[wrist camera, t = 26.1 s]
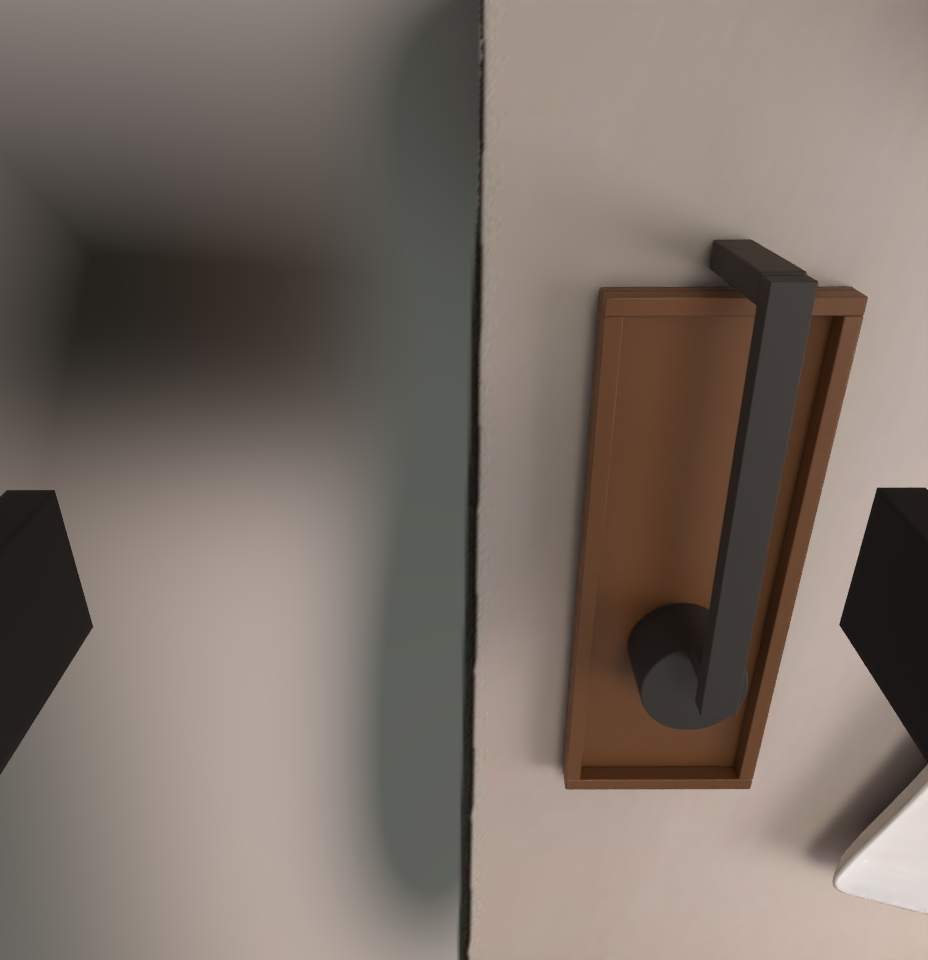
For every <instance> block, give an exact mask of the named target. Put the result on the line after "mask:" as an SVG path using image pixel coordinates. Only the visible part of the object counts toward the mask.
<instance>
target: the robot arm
mask: <svg viewBox="0 0 928 960" xmlns="http://www.w3.org/2000/svg"><path fill="white" fill-rule="evenodd" d="M839 625H840V626H841V628H842V630H843V631H844V633H845V634H846V636H847V637H848V639H849V640H850V642H851V644H852V645H853V647H854V648H855V650H856V651H857V653H858V655H859V656H860V658H861V659H862V661H863V662H864V664H865V666H866V667H867V669H868V670H869V672H870V673H871V675H872V676H873V678H874V680H875V681H876V683H877V684H878V686H879V687H880V689H881V691H882V692H883V694H884V695H885V697H886V698H887V700H888V701H889V703H890V705H891V706H892V708H893V709H894V711H895V712H896V714H897V716H898V717H899V719H900V720H901V722H902V723H903V725H904V726H905V728H906V730H907V731H908V733H909V734H910V736H911V737H912V739H913V741H914V742H915V744H916V745H917V747H918V748H919V750H920V751H921V753H922V755H923V756H924V758H925V759H926V761H927V762H928V490H927V489H926V488H877V491H876V494H875V498H874V501H873V505H872V509H871V512H870V516H869V520H868V523H867V527H866V530H865V534H864V538H863V541H862V545H861V548H860V552H859V556H858V559H857V563H856V566H855V570H854V574H853V577H852V581H851V585H850V588H849V592H848V595H847V599H846V603H845V606H844V610H843V613H842V617H841V621H840V624H839ZM92 628H93V625H92V622H91V618H90V614H89V611H88V607H87V604H86V600H85V596H84V593H83V589H82V586H81V582H80V579H79V575H78V572H77V568H76V565H75V561H74V557H73V554H72V550H71V547H70V543H69V540H68V536H67V532H66V529H65V525H64V522H63V518H62V515H61V511H60V508H59V504H58V501H57V497H56V493H55V490H13V491H12V490H7V491H6V492H5V493H4V494H3V495H2V496H1V497H0V774H1V773H2V771H3V770H4V768H5V766H6V765H7V763H8V761H9V760H10V758H11V757H12V755H13V754H14V752H15V750H16V749H17V747H18V746H19V744H20V742H21V741H22V739H23V738H24V736H25V734H26V733H27V731H28V730H29V728H30V726H31V725H32V723H33V722H34V720H35V719H36V717H37V715H38V714H39V712H40V711H41V709H42V707H43V706H44V704H45V703H46V701H47V699H48V698H49V696H50V695H51V693H52V691H53V690H54V688H55V687H56V685H57V683H58V682H59V680H60V679H61V677H62V675H63V674H64V672H65V671H66V669H67V667H68V666H69V664H70V663H71V661H72V660H73V658H74V656H75V655H76V653H77V652H78V650H79V648H80V647H81V645H82V644H83V642H84V640H85V639H86V637H87V636H88V634H89V632H90V631H91V629H92Z"/></svg>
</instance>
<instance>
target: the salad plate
mask: <svg viewBox="0 0 928 960" xmlns="http://www.w3.org/2000/svg"><path fill="white" fill-rule="evenodd" d="M833 886H834V887H835V888H836V889H837V890H839V891H841V892H844V893H847V894H850V895H853V896H856V897H860V898H864V899H868V900H872V901H876V902H880V903H884V904H888V905H892V906H896V907H899V908H903V909H907V910H911V911H915V912H919V913H923V914H927V915H928V764H927V766H926V767H925V768H924V769H923V770H922V771H921V772H920V773H919V774H918V775H917V777H916V778H915V779H914V780H913V781H912V782H911V783H910V784H909V785H908V786H907V787H906V788H905V789H904V790H903V792H902V793H901V794H900V795H899V796H898V797H897V798H896V799H895V800H894V801H893V802H892V803H891V804H890V805H889V806H888V807H887V808H886V809H885V810H884V811H883V812H882V813H881V814H880V815H879V816H878V817H877V818H876V819H875V820H874V821H873V822H872V823H871V824H870V825H869V826H868V827H867V828H866V829H865V830H864V831H863V832H862V833H861V834H860V835H859V837H858V838H857V839H856V840H855V841H854V842H853V843H852V844H851V846H850V847H849V848H848V849H847V850H846V851H845V853H844V855H843V856H842V858H841V859H840V861H839V863H838V865H837V867H836V870H835V874H834V877H833Z"/></svg>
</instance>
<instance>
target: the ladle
mask: <svg viewBox="0 0 928 960" xmlns="http://www.w3.org/2000/svg"><path fill="white" fill-rule="evenodd" d="M710 269H711V270H712V271H714V272H715V273H716V274H717V275H719V276H720V277H721V278H722V279H724V280H725V281H726V282H727V283H729V284H730V285H731V286H732V287H734V288H735V289H736V290H737V291H739V292H740V293H741V294H742V295H744V296H745V297H746V298H747V299H749V300H750V301H751V302H752V303H754V304H755V305H756V313H755V319H754V325H753V332H752V338H751V345H750V351H749V358H748V364H747V370H746V377H745V383H744V390H743V396H742V402H741V409H740V415H739V422H738V428H737V434H736V441H735V447H734V454H733V460H732V466H731V473H730V479H729V486H728V492H727V498H726V505H725V511H724V518H723V524H722V530H721V537H720V543H719V550H718V556H717V562H716V569H715V575H714V582H713V588H712V594H711V601H710V607H709V609H707V608H705V607H702V606H699V605H695V604H688V603H679V604H671V605H667V606H663V607H661V608H658V609H656V610H654V611H652V612H650V613H649V614H647V615H646V616H645V617H643V618H642V619H641V620H640V621H639V622H638V623H637V624H636V626H635V627H634V629H633V631H632V632H631V635H630V637H629V641H628V656H629V659H630V663H631V666H632V670H633V674H634V677H635V681H636V684H637V688H638V691H639V695H640V698H641V702H642V705H643V707H644V709H645V710H646V712H647V713H648V714H649V715H650V716H651V717H652V718H653V719H654V720H656V721H657V722H658V723H660V724H662V725H664V726H667V727H670V728H674V729H680V730H696V729H703V728H707V727H710V726H713V725H715V724H718V723H720V722H722V721H723V720H725V719H727V718H728V717H729V716H736V715H737V710H738V708H739V707H740V705H741V704H742V702H743V701H744V699H745V697H746V694H747V690H748V676H747V672H746V670H745V668H746V662H747V657H748V652H749V646H750V641H751V636H752V630H753V625H754V620H755V614H756V609H757V604H758V599H759V593H760V588H761V583H762V577H763V572H764V567H765V561H766V556H767V551H768V545H769V540H770V535H771V529H772V524H773V519H774V514H775V508H776V503H777V498H778V492H779V487H780V482H781V476H782V471H783V466H784V460H785V455H786V450H787V444H788V439H789V434H790V429H791V423H792V418H793V413H794V407H795V402H796V397H797V391H798V386H799V381H800V375H801V370H802V365H803V359H804V354H805V349H806V343H807V338H808V333H809V328H810V322H811V317H812V312H813V306H814V301H815V296H816V290H817V285H818V281H816V280H815V279H813V278H811V277H809V276H808V275H806V274H807V273H806V271H804V270H802V269H801V268H799V267H797V266H795V265H794V264H792V263H790V262H789V261H787V260H785V259H784V258H782V257H780V256H778V255H777V254H775V253H773V252H772V251H770V250H768V249H766V248H765V247H763V246H761V245H760V244H758V243H756V242H754V241H753V240H714V242H713V249H712V257H711V265H710Z"/></svg>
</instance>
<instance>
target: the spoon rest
mask: <svg viewBox="0 0 928 960" xmlns="http://www.w3.org/2000/svg"><path fill="white" fill-rule="evenodd" d="M867 299H868V297H867V296H865V295H864V294H862V293H861V292H859V291H857V290H856V289H854V288H853V287H817V290H816V296H815V301H814V306H813V312H812V317H811V322H810V328H809V333H808V338H807V343H806V349H805V354H804V359H803V365H802V370H801V375H800V381H799V386H798V391H797V397H796V402H795V407H794V413H793V418H792V423H791V429H790V434H789V439H788V444H787V450H786V455H785V460H784V466H783V471H782V476H781V482H780V487H779V492H778V498H777V503H776V508H775V514H774V519H773V524H772V529H771V535H770V540H769V545H768V551H767V556H766V561H765V567H764V572H763V577H762V583H761V588H760V593H759V599H758V604H757V609H756V614H755V620H754V625H753V630H752V636H751V641H750V646H749V652H748V657H747V662H746V668H745V670H746V672H747V676H748V690H747V694H746V697H745V699H744V701H743V702H742V704H741V705H740V707H739V708H738V710H737V715H736V716H729V717H728V718H727V719H725V720H723V721H722V722H720V723H718V724H715V725H713V726H710V727H707V728H703V729H696V730H680V729H674V728H670V727H667V726H664V725H662V724H660V723H658V722H657V721H656V720H654V719H653V718H652V717H651V716H650V715H649V714H648V713H647V712H646V710H645V709H644V707H643V705H642V702H641V698H640V695H639V691H638V688H637V684H636V681H635V677H634V674H633V670H632V666H631V663H630V659H629V656H628V641H629V637H630V635H631V632H632V631H633V629H634V627H635V626H636V624H637V623H638V622H639V621H640V620H641V619H642V618H643V617H645V616H646V615H647V614H649V613H650V612H652V611H654V610H656V609H658V608H661V607H663V606H667V605H671V604H679V603H688V604H695V605H699V606H702V607H705V608H707V609H709V607H710V601H711V594H712V588H713V582H714V575H715V569H716V562H717V556H718V550H719V543H720V537H721V530H722V524H723V518H724V511H725V505H726V498H727V492H728V486H729V479H730V473H731V466H732V460H733V454H734V447H735V441H736V434H737V428H738V422H739V415H740V409H741V402H742V396H743V390H744V383H745V377H746V370H747V364H748V358H749V351H750V345H751V338H752V332H753V325H754V319H755V313H756V305H755V304H754V303H752V302H751V301H750V300H749V299H747V298H746V297H745V296H744V295H742V294H741V293H740V292H739V291H737V290H736V289H735V288H734V287H602V288H600V296H599V309H598V322H597V335H596V347H595V360H594V373H593V386H592V398H591V411H590V424H589V437H588V449H587V462H586V475H585V488H584V500H583V513H582V526H581V539H580V552H579V564H578V577H577V590H576V603H575V615H574V628H573V641H572V654H571V666H570V679H569V692H568V705H567V717H566V730H565V743H564V756H563V774H564V782H565V788H566V789H750V787H751V783H752V779H753V775H754V771H755V767H756V762H757V758H758V754H759V750H760V746H761V742H762V737H763V733H764V729H765V725H766V721H767V717H768V712H769V708H770V704H771V700H772V696H773V692H774V687H775V683H776V679H777V675H778V671H779V666H780V662H781V658H782V654H783V650H784V646H785V641H786V637H787V633H788V629H789V625H790V621H791V616H792V612H793V608H794V604H795V600H796V596H797V591H798V587H799V583H800V579H801V575H802V570H803V566H804V562H805V558H806V554H807V550H808V545H809V541H810V537H811V533H812V529H813V525H814V520H815V516H816V512H817V508H818V504H819V500H820V495H821V491H822V487H823V483H824V479H825V474H826V470H827V466H828V462H829V458H830V454H831V449H832V445H833V441H834V437H835V433H836V429H837V424H838V420H839V416H840V412H841V408H842V404H843V399H844V395H845V391H846V387H847V383H848V378H849V374H850V370H851V366H852V362H853V358H854V353H855V349H856V345H857V341H858V337H859V333H860V328H861V324H862V320H863V315H864V312H865V308H866V303H867Z"/></svg>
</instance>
